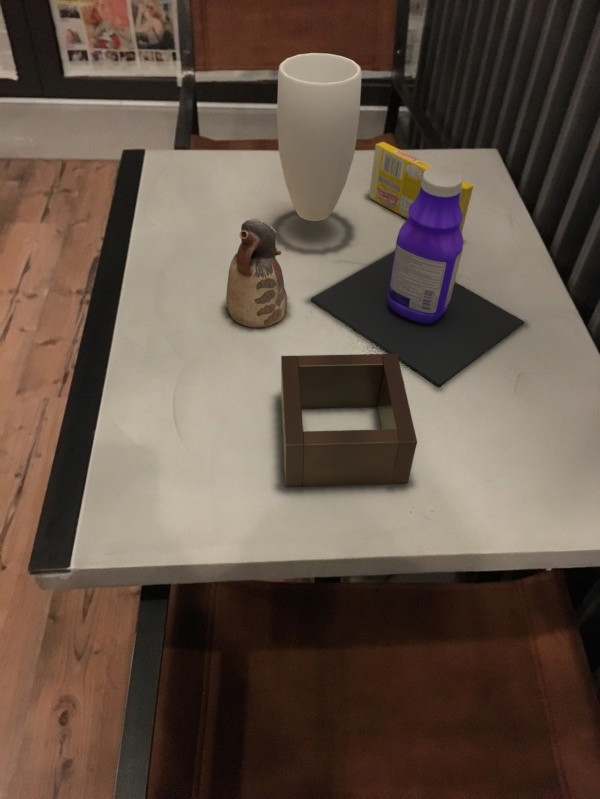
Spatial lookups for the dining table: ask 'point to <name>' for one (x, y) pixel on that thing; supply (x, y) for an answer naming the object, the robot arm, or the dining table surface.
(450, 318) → the mat
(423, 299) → the bottle
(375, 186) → the candy box
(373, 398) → the holder
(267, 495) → the dining table surface
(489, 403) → the dining table surface
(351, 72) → the cup
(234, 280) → the figurine
